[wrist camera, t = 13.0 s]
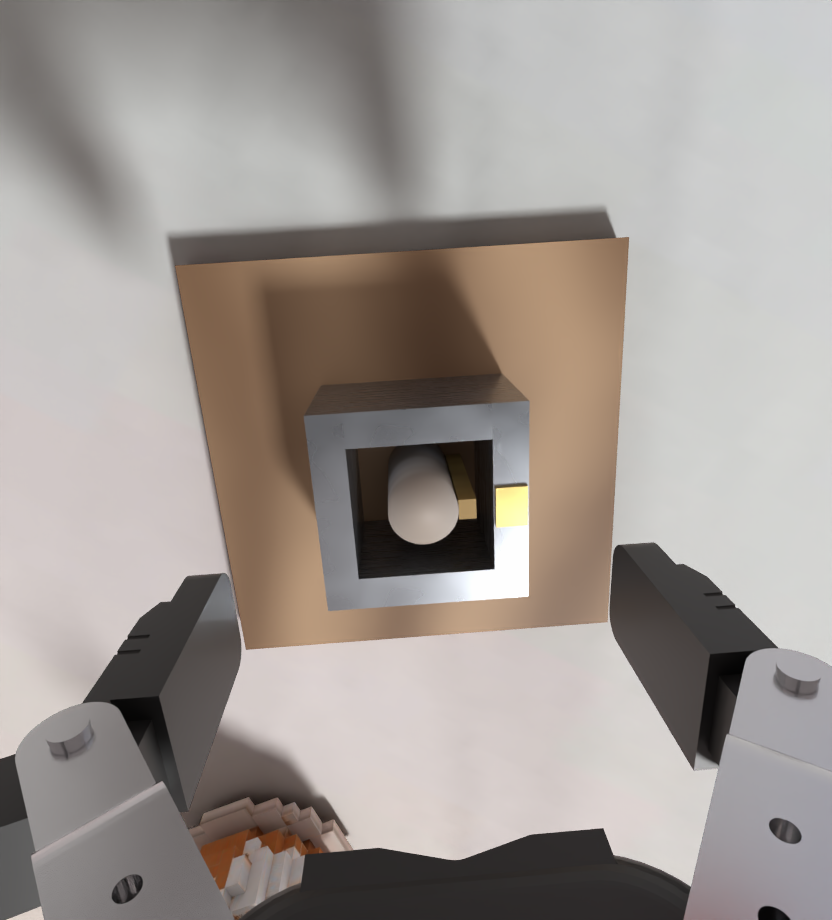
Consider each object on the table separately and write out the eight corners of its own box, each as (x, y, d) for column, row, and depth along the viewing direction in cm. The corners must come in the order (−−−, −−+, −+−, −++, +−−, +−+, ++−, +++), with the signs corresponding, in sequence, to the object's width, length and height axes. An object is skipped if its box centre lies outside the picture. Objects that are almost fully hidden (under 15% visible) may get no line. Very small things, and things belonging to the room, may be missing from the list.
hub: (339, 548, 21) (327, 613, 17) (320, 385, 19) (303, 416, 15) (503, 536, 21) (529, 598, 17) (502, 373, 19) (530, 401, 15)
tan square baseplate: (251, 633, 23) (216, 728, 19) (185, 265, 19) (116, 266, 14) (598, 607, 24) (651, 694, 19) (616, 238, 19) (692, 230, 14)
